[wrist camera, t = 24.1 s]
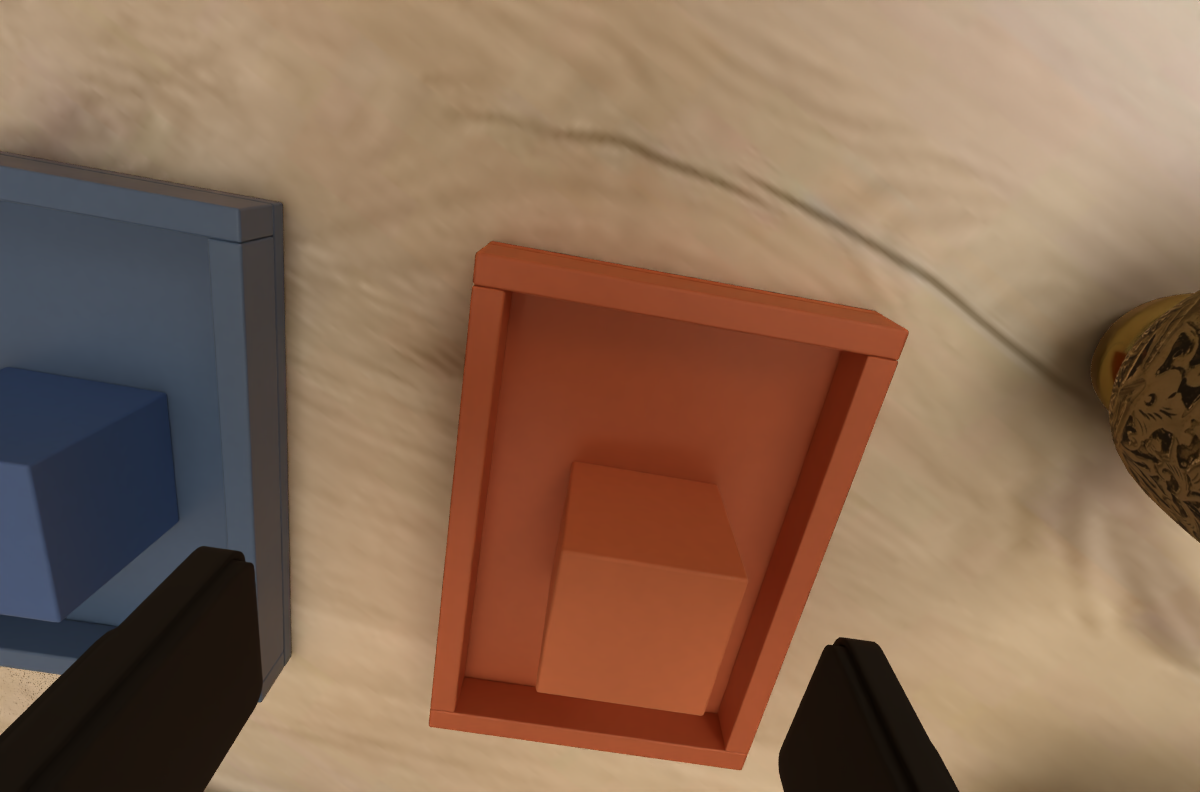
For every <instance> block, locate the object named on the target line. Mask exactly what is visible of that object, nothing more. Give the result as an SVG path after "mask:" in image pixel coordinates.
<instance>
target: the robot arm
mask: <svg viewBox="0 0 1200 792" xmlns="http://www.w3.org/2000/svg"><path fill="white" fill-rule="evenodd" d="M262 687H263V676H262V663H261V649H260V636H259V623H258V609H257V596H256V583H255V569H254V565H253V564H252V563H251V562H246V561H245V556H244V554H243V553H242V552H241V551H236V550H229V549H222V548H215V547H208V546H201V547H198V548H197V549H196V550H194V551H193V552H192V553H191V554H190V555H189V556H188V557H187V558H186V559H185V560H184V561H183V562H182V563H181V564H180V565H179V566H178V567H177V568H176V569H175V570H174V571H173V572H172V573H171V574H170V575H169V576H168V577H167V578H166V579H165V580H164V581H163V582H162V583H161V584H160V585H159V586H158V587H157V588H156V589H155V590H154V591H153V592H152V593H151V594H150V595H149V596H148V597H147V598H146V599H145V600H144V601H143V602H142V603H141V604H140V605H139V606H138V607H137V608H136V609H135V610H134V611H133V612H132V613H131V614H130V615H129V616H128V617H127V618H126V619H125V620H124V621H123V622H122V623H121V624H120V625H119V626H118V627H117V628H114V629H112V630H110V631H108V632H106V633H105V634H104V635H103V636H102V637H100V638H99V639H98V640H97V641H96V642H95V643H94V644H93V645H91V646H90V647H89V648H88V649H87V650H86V651H85V652H84V653H83V654H82V655H81V656H80V657H79V658H78V659H77V660H76V661H75V662H74V663H73V664H72V665H71V666H70V667H69V668H68V669H67V670H66V671H65V672H64V673H63V674H62V675H61V676H60V677H59V678H58V679H57V680H56V681H55V682H54V683H53V684H52V685H51V686H50V687H49V688H48V689H47V690H46V691H45V692H44V693H43V694H42V695H41V696H40V697H39V698H38V699H37V700H36V701H35V702H34V703H33V704H32V705H31V706H30V707H29V708H28V709H27V710H26V711H25V712H24V713H23V714H22V715H20V716H19V717H18V718H17V719H16V720H15V721H14V722H13V723H12V724H11V725H10V726H9V727H8V728H7V729H6V730H5V731H4V732H3V733H2V734H1V735H0V792H203V791H204V790H205V788H206V786H207V785H208V783H209V781H210V780H211V778H212V777H213V775H214V773H215V772H216V770H217V769H218V767H219V765H220V764H221V762H222V760H223V759H224V757H225V756H226V754H227V752H228V751H229V749H230V748H231V746H232V744H233V743H234V741H235V739H236V738H237V736H238V735H239V733H240V731H241V730H242V728H243V726H244V725H245V723H246V722H247V720H248V718H249V717H250V715H251V714H252V712H253V710H254V709H255V707H256V705H257V703H258V700H259V698H260V695H261V692H262ZM779 774H780V778H781V782H782V786H783V790H784V792H959V791H958V789H957V787H956V785H955V783H954V781H953V779H952V777H951V776H950V774H949V772H948V770H947V768H946V766H945V764H944V762H943V761H942V759H941V757H940V755H939V753H938V752H937V750H936V749H935V747H934V746H933V744H932V743H931V741H930V739H929V737H928V736H927V734H926V732H925V730H924V728H923V726H922V724H921V722H920V720H919V719H918V717H917V715H916V713H915V711H914V709H913V707H912V705H911V704H910V702H909V700H908V698H907V696H906V694H905V692H904V690H903V688H902V687H901V685H900V683H899V681H898V679H897V677H896V675H895V673H894V672H893V670H892V668H891V666H890V664H889V662H888V660H887V658H886V656H885V655H884V653H883V651H882V649H881V648H880V646H879V645H878V644H876V643H875V642H871V641H864V640H857V639H850V638H841V637H840V638H838V639H837V640H836V641H835V642H834V644H833V645H827V646H826V647H825V648H824V650H823V652H822V654H821V657H820V659H819V661H818V664H817V666H816V668H815V670H814V673H813V675H812V677H811V680H810V682H809V684H808V687H807V689H806V691H805V694H804V696H803V698H802V701H801V703H800V705H799V708H798V710H797V712H796V715H795V717H794V719H793V722H792V724H791V726H790V729H789V731H788V733H787V736H786V738H785V740H784V742H783V745H782V747H781V750H780V753H779Z"/></svg>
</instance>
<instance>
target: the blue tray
mask: <svg viewBox="0 0 1200 792" xmlns="http://www.w3.org/2000/svg"><path fill="white" fill-rule="evenodd" d="M6 367H12V368H18V369H24V370H30V371H36V372H42V373H48V374H54V375H60V376H66V377H72V378H78V379H84V380H90V381H96V382H102V383H108V384H114V385H120V386H127V387H133V388H139V389H145V390H151V391H157V392H163V393H166V395H167V405H168V415H169V425H170V435H171V445H172V455H173V465H174V475H175V485H176V495H177V505H178V515H179V521H178V523H177V524H175V525H174V526H173V527H172V528H171V529H170V530H168V531H167V532H166V533H165V534H164V535H162V536H161V537H160V538H159V539H158V540H157V541H155V542H154V543H153V544H152V545H151V546H150V547H148V548H147V549H146V550H145V551H144V552H142V553H141V554H140V555H139V556H138V557H137V558H135V559H134V560H133V561H132V562H131V563H129V564H128V565H127V566H126V567H125V568H124V569H122V570H121V571H120V572H119V573H118V574H116V575H115V576H114V577H113V578H112V579H111V580H109V581H108V582H107V583H106V584H105V585H103V586H102V587H101V588H100V589H99V590H98V591H96V592H95V593H94V594H93V595H92V596H90V597H89V598H88V599H87V600H86V601H85V602H83V603H82V604H81V605H80V606H79V607H77V608H76V609H75V610H74V611H73V612H72V613H70V614H69V615H68V616H67V617H66V618H64V619H63V620H62V621H61V622H50V621H43V620H36V619H30V618H23V617H16V616H9V615H2V614H0V666H3V667H10V668H17V669H24V670H31V671H38V672H45V673H52V674H60V675H62V674H63V673H64V672H65V671H66V670H67V669H68V668H69V667H70V666H71V665H72V664H73V663H74V662H75V661H76V660H77V659H78V658H79V657H80V656H81V655H82V654H83V653H84V652H85V651H86V650H87V649H88V648H89V647H90V646H91V645H93V644H94V643H95V642H96V641H97V640H98V639H99V638H100V637H102V636H103V635H104V634H105V633H106V632H108V631H110V630H112V629H114V628H117V627H118V626H119V625H120V624H121V623H122V622H123V621H124V620H125V619H126V618H127V617H128V616H129V615H130V614H131V613H132V612H133V611H134V610H135V609H136V608H137V607H138V606H139V605H140V604H141V603H142V602H143V601H144V600H145V599H146V598H147V597H148V596H149V595H150V594H151V593H152V592H153V591H154V590H155V589H156V588H157V587H158V586H159V585H160V584H161V583H162V582H163V581H164V580H165V579H166V578H167V577H168V576H169V575H170V574H171V573H172V572H173V571H174V570H175V569H176V568H177V567H178V566H179V565H180V564H181V563H182V562H183V561H184V560H185V559H186V558H187V557H188V556H189V555H190V554H191V553H192V552H193V551H194V550H196V549H197V548H198V547H201V546H208V547H215V548H222V549H229V550H236V551H241V552H242V553H243V554H244V556H245V561H246V562H251V563H252V564H253V565H254V569H255V583H256V596H257V609H258V623H259V636H260V649H261V663H262V676H263V687H262V692H261V695H260V698H259V700H258V702H262V701H263V699H264V698H265V696H266V694H267V693H268V691H269V690H270V688H271V687H272V685H273V683H274V682H275V680H276V679H277V677H278V676H279V674H280V672H281V671H282V669H283V668H284V666H285V665H286V664H287V662H288V660H289V659H290V657H291V619H290V567H289V514H288V461H287V409H286V356H285V303H284V251H283V205H282V203H280V202H276V201H270V200H265V199H260V198H254V197H249V196H243V195H238V194H232V193H227V192H221V191H216V190H210V189H205V188H199V187H194V186H188V185H183V184H178V183H172V182H167V181H161V180H156V179H150V178H145V177H139V176H134V175H128V174H123V173H117V172H112V171H106V170H101V169H95V168H90V167H85V166H79V165H74V164H68V163H63V162H57V161H52V160H46V159H41V158H35V157H30V156H24V155H19V154H13V153H8V152H3V151H0V369H3V368H6Z"/></svg>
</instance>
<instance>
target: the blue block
mask: <svg viewBox="0 0 1200 792" xmlns="http://www.w3.org/2000/svg"><path fill="white" fill-rule="evenodd" d="M178 521H179V515H178V505H177V495H176V485H175V475H174V465H173V455H172V445H171V435H170V425H169V415H168V405H167V395H166V393H163V392H157V391H151V390H145V389H139V388H133V387H127V386H120V385H114V384H108V383H102V382H96V381H90V380H84V379H78V378H72V377H66V376H60V375H54V374H48V373H42V372H36V371H30V370H24V369H18V368H12V367H6V368H3V369H0V614H2V615H9V616H16V617H23V618H30V619H36V620H43V621H50V622H61V621H62V620H63V619H64V618H66V617H67V616H68V615H69V614H70V613H72V612H73V611H74V610H75V609H76V608H77V607H79V606H80V605H81V604H82V603H83V602H85V601H86V600H87V599H88V598H89V597H90V596H92V595H93V594H94V593H95V592H96V591H98V590H99V589H100V588H101V587H102V586H103V585H105V584H106V583H107V582H108V581H109V580H111V579H112V578H113V577H114V576H115V575H116V574H118V573H119V572H120V571H121V570H122V569H124V568H125V567H126V566H127V565H128V564H129V563H131V562H132V561H133V560H134V559H135V558H137V557H138V556H139V555H140V554H141V553H142V552H144V551H145V550H146V549H147V548H148V547H150V546H151V545H152V544H153V543H154V542H155V541H157V540H158V539H159V538H160V537H161V536H162V535H164V534H165V533H166V532H167V531H168V530H170V529H171V528H172V527H173V526H174V525H175V524H177V523H178Z"/></svg>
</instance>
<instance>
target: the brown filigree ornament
mask: <svg viewBox="0 0 1200 792" xmlns="http://www.w3.org/2000/svg"><path fill="white" fill-rule="evenodd" d="M1090 372H1091V381H1092V385H1093V388H1094V390H1095V392H1096V394H1097V396H1098V398H1099V399H1100V401H1101V402H1102V404H1103V405H1104V406H1105V408H1106V409H1107V410H1108V411H1109V421H1110V427H1111V432H1112V437H1113V441H1114V444H1115V447H1116V450H1117V452H1118V454H1119V456H1120V458H1121V459H1122V461H1123V463H1124V465H1125V467H1126V469H1127V470H1128V472H1129V473H1130V475H1131V476H1132V477H1133V479H1134V480H1135V481H1136V482H1137V483H1138V485H1139V486H1140V487H1141V488H1142V489H1143V491H1144V492H1145V493H1146V494H1147V495H1148V496H1149V497H1150V498H1151V499H1152V500H1153V501H1154V502H1155V503H1156V504H1157V505H1158V506H1159V507H1160V508H1161V509H1162V510H1163V511H1164V512H1165V513H1166V514H1167V515H1169V516H1170V517H1171V518H1172V519H1173V520H1174V521H1175V522H1176V523H1177V524H1179V525H1180V526H1181V527H1182V528H1183V529H1184V530H1185V531H1186V532H1188V533H1189V534H1190V535H1191V536H1192V537H1194V538H1195V539H1196V540H1197V541H1198V542H1199V543H1200V290H1199V291H1197V292H1195V293H1186V294H1178V295H1172V296H1167V297H1162V298H1158V299H1155V300H1152V301H1149V302H1146V303H1144V304H1141V305H1139V306H1137V307H1135V308H1134V309H1132V310H1130V311H1129V312H1127V313H1126V314H1124V315H1123V316H1122V317H1120V318H1119V319H1118V320H1117V321H1116V322H1115V323H1114V324H1113V325H1112V326H1111V327H1110V328H1109V329H1108V330H1107V331H1106V332H1105V334H1104V335H1103V337H1102V338H1101V340H1100V341H1099V343H1098V345H1097V347H1096V349H1095V351H1094V354H1093V357H1092V362H1091V370H1090Z"/></svg>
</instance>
